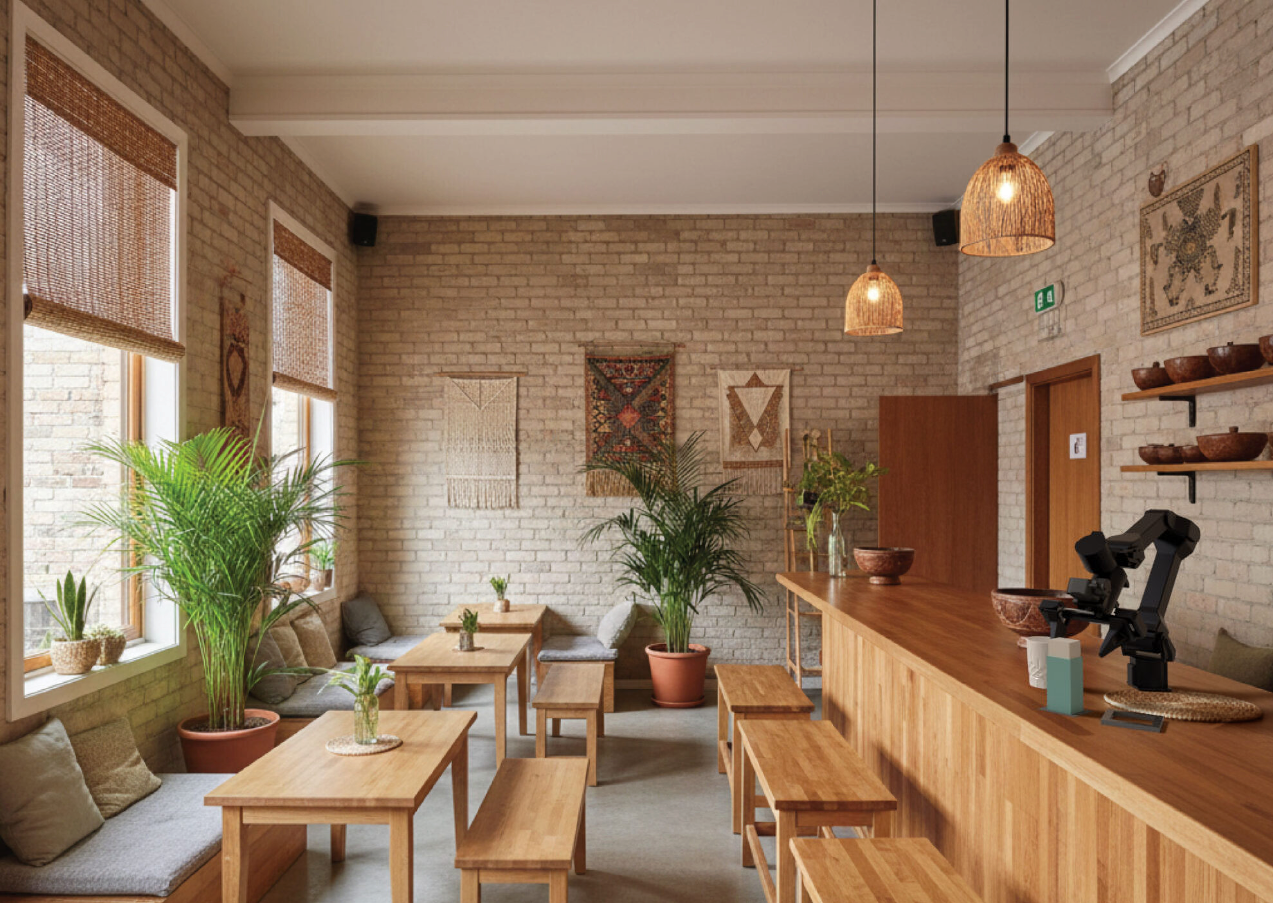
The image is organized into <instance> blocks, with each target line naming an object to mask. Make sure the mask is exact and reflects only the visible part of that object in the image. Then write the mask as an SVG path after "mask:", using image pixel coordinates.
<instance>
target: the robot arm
mask: <svg viewBox="0 0 1273 903" xmlns="http://www.w3.org/2000/svg"><path fill="white" fill-rule="evenodd" d="M1200 540H1201V530H1200V527H1199V525H1197V523H1195V522H1194V521H1192V519H1189V518H1186V517H1184V516H1181V515H1178V514H1177V513H1175V512H1174V511H1172V510H1170V509H1166V508H1165V509H1164V508H1163V509H1162V508H1161V509H1160V508H1150V509H1146V510H1145V512H1144V514H1143V516H1142V517H1141V518H1139V519H1138V520H1137V521H1136V522H1135V523H1134V524H1133V525H1131V526H1130V527H1129V528H1128V529H1127V530H1126V531H1125V532H1123V533H1121V534H1115V535H1110V536H1109V537H1107V538H1106V536H1105V534H1104V531H1102V530H1100V531H1099V530H1092V531H1091V532H1090V534H1086V535H1085V536H1083V537H1081V538H1080V539H1078V540H1076V542H1075V544H1074V550H1075V553H1077V554H1076V555H1077V556H1078V557H1079V559H1080V561H1081V563H1082V565H1083V567H1084V568H1085V570H1086V572H1088V573H1090V574H1092V576H1091V577H1090V578H1091V579H1089V578H1081V577H1072V576H1071V577H1069V579H1068V583H1067V588H1066V591H1065V593H1066V595H1069V596H1070V597H1072V598H1073V599H1072V603H1073V605H1074V606H1077V608H1069V607H1067V606H1066V604H1065V603H1064V602H1063V600H1057V599H1051V598H1049V599H1048V598H1047V599H1046V598H1045V599H1042V600H1041V601H1040V602H1039V605H1038V607H1037V610H1039V613H1040V614H1041V616H1042V617H1043V619H1044V620H1045V622H1046V623H1047V625H1048V626H1049V627H1050V628H1049V629H1050V633H1049V634H1050V636H1049V637H1050V639H1054V638H1059V637H1060V638H1065V637H1066V634H1067V633H1068V630H1069V629H1068V627H1069V626H1070V623H1071V620H1073V621H1081V622H1086V623H1089V624H1094V625H1102V626H1108V630H1107V632H1106V634H1105V637H1104V639H1103V641H1102V643H1101V645H1100V647H1099V651H1098V657H1099V658H1100V659H1103V658H1105V657H1106V656H1107V655H1109V654H1110V653H1112V652H1114V651H1115V650H1117V649H1118V648H1120V649H1121V654H1122V656H1124V657H1129V662H1127V664H1126V665H1127V666H1126V669H1127V670H1126V675H1127V677H1126V679H1127V681H1126V684H1128V685H1129V686H1130V687H1133V688H1134V689H1136V690H1139V691H1155V690H1161V691H1160V692H1164V691H1165V692H1172V691H1173V689H1172V688H1171V687H1170V686H1169V670H1168V669H1169V666H1168V663H1173V662H1175V659H1176V653H1177V652H1176V651H1177V650H1176V647H1175V645H1174V643H1173V642H1172V640H1171V638H1170V637H1169V636H1170V631H1169V628H1168V625H1167V623H1166V621H1165V616H1166V612H1167V609H1168V606H1169V603H1170V599H1171V596H1172V592H1173V590H1174V586H1175V583H1176V580H1177V577H1178V573H1179V570H1180V567H1181V563H1182V561H1184V560H1185V559H1186V558H1188V557H1189V556H1190V555H1192V554H1193V553H1194V551H1195V549H1196V547H1197V544H1198V543H1199V542H1200ZM1152 543H1153V545H1154V549H1155V550H1156V553H1155V555H1154V556H1155V557H1154V560H1153V563H1152V566H1151V568H1150V571H1149V572H1150V573H1149V575H1148V578H1147V581H1146V584H1145V587H1144V590H1143V594H1142V597H1141V600H1140V603H1139V606H1138V608H1137V609H1134V608H1133V609H1132V608H1125V607H1120V605H1121V604H1120V603H1119V601H1118V600H1119V598H1120V595H1121V593H1122V590H1123V588H1124V589H1129V588H1130V581H1129V579H1128V577H1129V576H1128V574H1127V572H1126V571H1125V569H1128V570H1137V569H1139V568H1140V566H1141V564H1142V563H1144V562H1143V561H1145V559H1146V555H1145V551H1146V549H1147V548H1149V546H1150V545H1152ZM1112 613H1113V614H1112Z"/></svg>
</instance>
